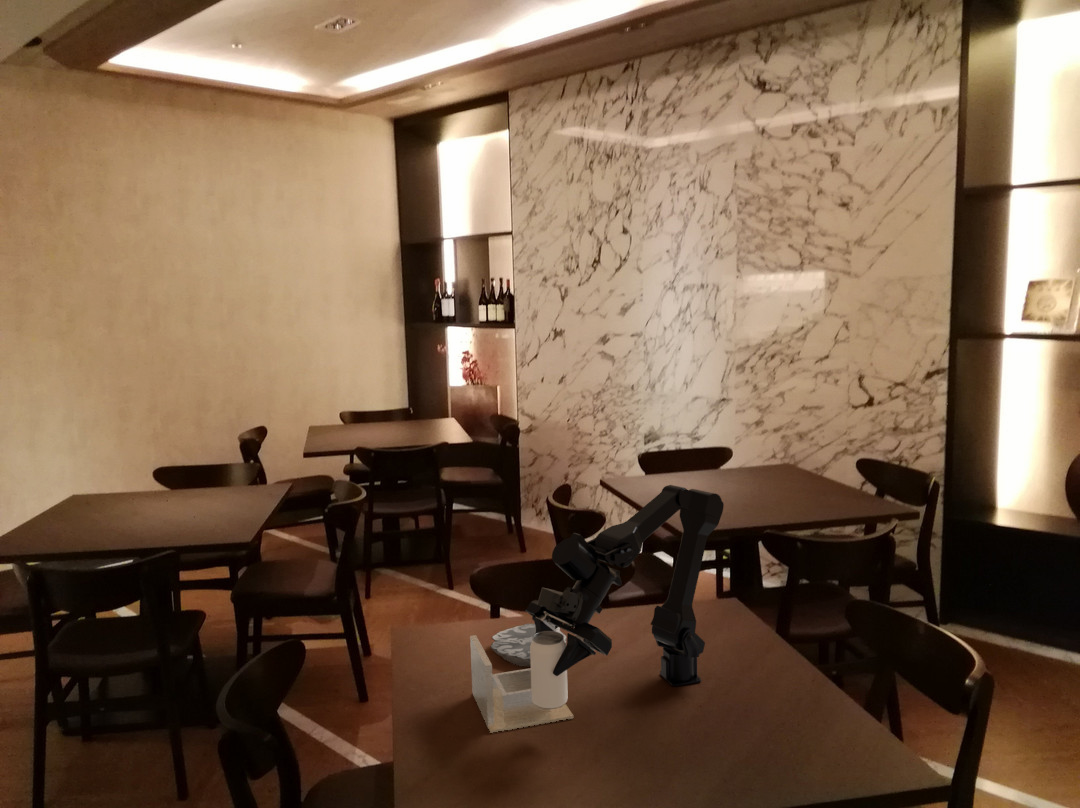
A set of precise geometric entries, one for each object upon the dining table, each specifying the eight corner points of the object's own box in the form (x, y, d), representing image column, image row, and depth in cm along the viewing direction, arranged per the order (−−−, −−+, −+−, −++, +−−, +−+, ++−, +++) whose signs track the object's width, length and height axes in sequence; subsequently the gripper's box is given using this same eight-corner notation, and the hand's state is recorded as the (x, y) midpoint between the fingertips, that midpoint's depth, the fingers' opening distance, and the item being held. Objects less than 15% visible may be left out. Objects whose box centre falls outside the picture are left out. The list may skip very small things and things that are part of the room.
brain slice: (495, 636, 190) (494, 623, 189) (567, 635, 189) (566, 623, 188) (486, 673, 170) (486, 660, 170) (566, 672, 169) (565, 659, 169)
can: (558, 713, 139) (557, 647, 138) (525, 705, 142) (523, 641, 140) (573, 696, 145) (571, 633, 143) (541, 689, 148) (539, 627, 146)
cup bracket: (548, 681, 165) (546, 622, 164) (573, 718, 150) (571, 654, 148) (471, 693, 161) (469, 634, 159) (489, 733, 145) (486, 668, 144)
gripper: (531, 558, 150) (485, 630, 145) (597, 583, 135) (548, 665, 130) (565, 588, 156) (522, 659, 151) (632, 615, 141) (587, 695, 136)
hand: (542, 668), depth 142 cm, fingers closed on can, 6 cm apart
